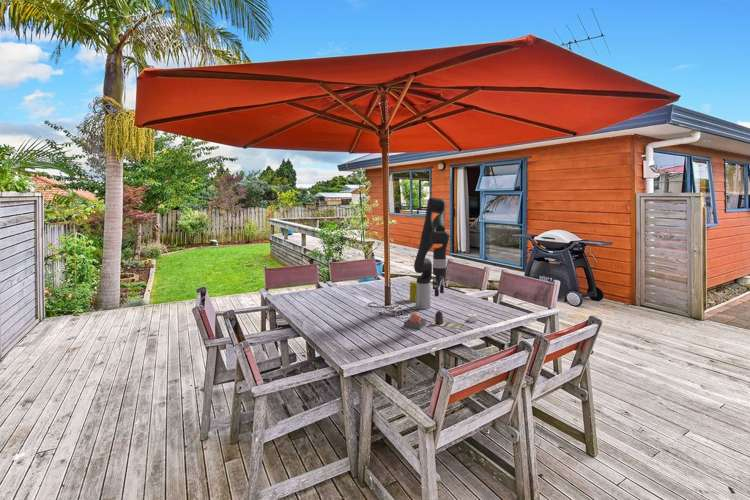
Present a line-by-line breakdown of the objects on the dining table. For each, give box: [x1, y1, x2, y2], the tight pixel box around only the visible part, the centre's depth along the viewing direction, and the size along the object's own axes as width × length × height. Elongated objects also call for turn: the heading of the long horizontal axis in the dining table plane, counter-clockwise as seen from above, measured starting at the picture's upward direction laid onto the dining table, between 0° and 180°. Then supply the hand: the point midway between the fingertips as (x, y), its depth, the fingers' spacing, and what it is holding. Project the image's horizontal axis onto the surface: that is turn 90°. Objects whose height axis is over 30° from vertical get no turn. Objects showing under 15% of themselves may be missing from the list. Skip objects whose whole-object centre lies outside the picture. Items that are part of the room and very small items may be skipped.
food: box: [409, 280, 417, 303], centre depth 269 cm, size 15×12×10 cm
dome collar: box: [403, 317, 427, 330], centre depth 211 cm, size 10×10×4 cm
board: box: [428, 319, 465, 330], centre depth 212 cm, size 18×10×1 cm, turn 60°
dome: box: [409, 312, 422, 323], centre depth 210 cm, size 6×6×6 cm
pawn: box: [434, 310, 444, 325], centre depth 214 cm, size 4×4×7 cm
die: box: [468, 313, 478, 323], centre depth 218 cm, size 4×4×4 cm
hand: (439, 294), depth 212 cm, fingers open, 8 cm apart
